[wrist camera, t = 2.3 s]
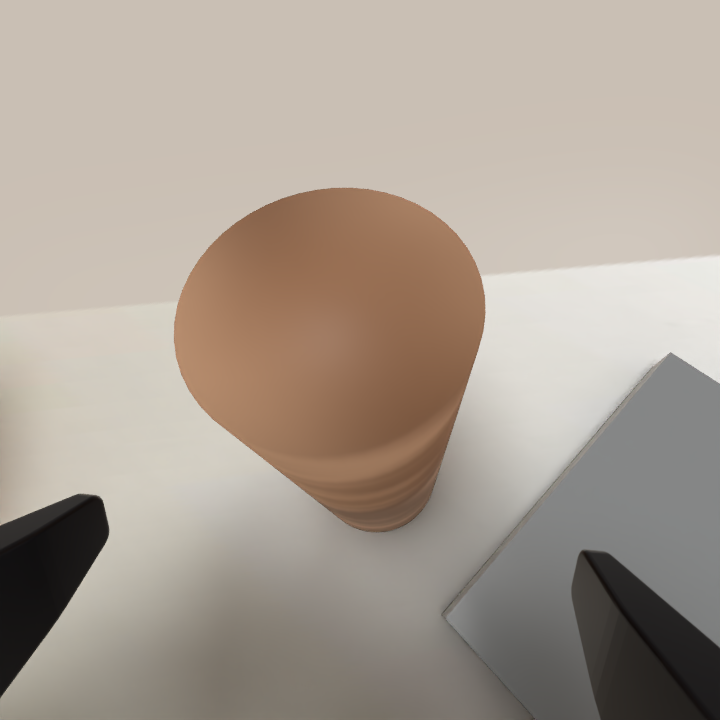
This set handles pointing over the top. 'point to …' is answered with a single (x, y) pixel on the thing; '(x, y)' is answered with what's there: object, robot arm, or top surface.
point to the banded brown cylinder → (337, 345)
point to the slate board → (606, 540)
